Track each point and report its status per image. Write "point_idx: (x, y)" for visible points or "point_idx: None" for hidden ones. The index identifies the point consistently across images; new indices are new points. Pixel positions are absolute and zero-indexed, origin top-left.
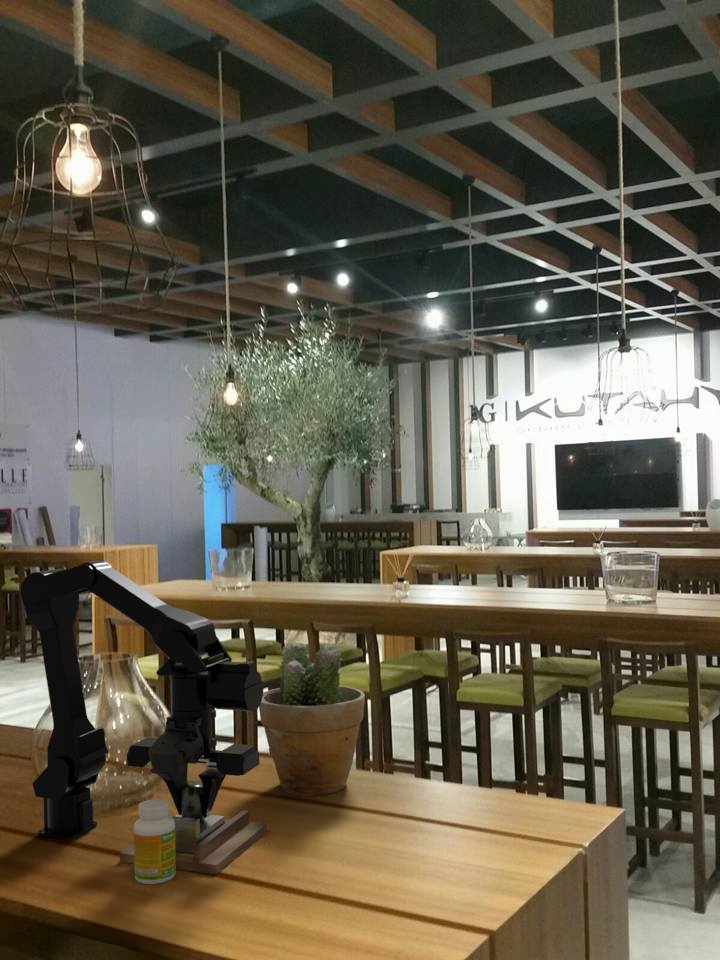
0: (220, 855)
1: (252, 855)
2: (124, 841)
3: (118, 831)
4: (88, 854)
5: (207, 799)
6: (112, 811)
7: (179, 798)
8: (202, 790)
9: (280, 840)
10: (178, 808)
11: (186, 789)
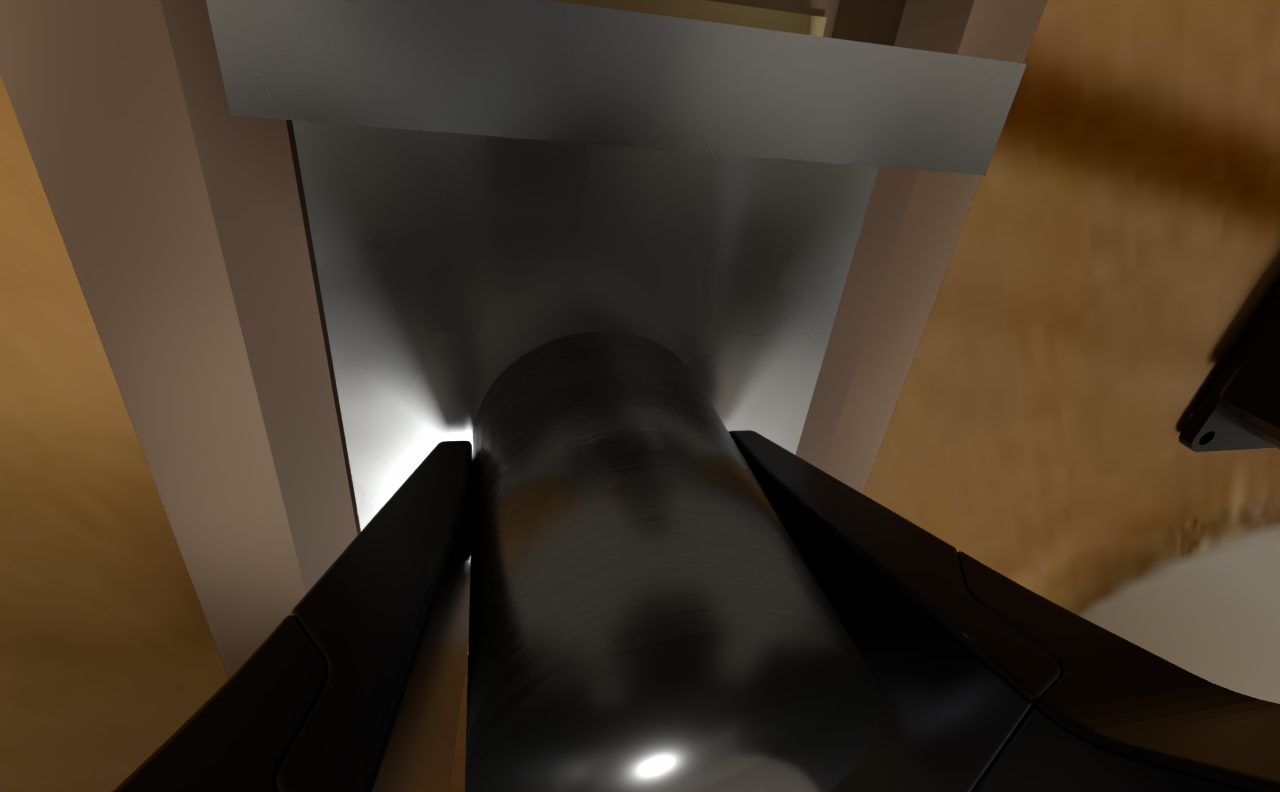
0: (85, 46)
1: (11, 303)
2: (1026, 301)
3: (1070, 410)
4: (1232, 45)
5: (339, 579)
6: (1109, 575)
7: (812, 540)
8: (472, 713)
9: (46, 573)
10: (776, 459)
11: (732, 621)
